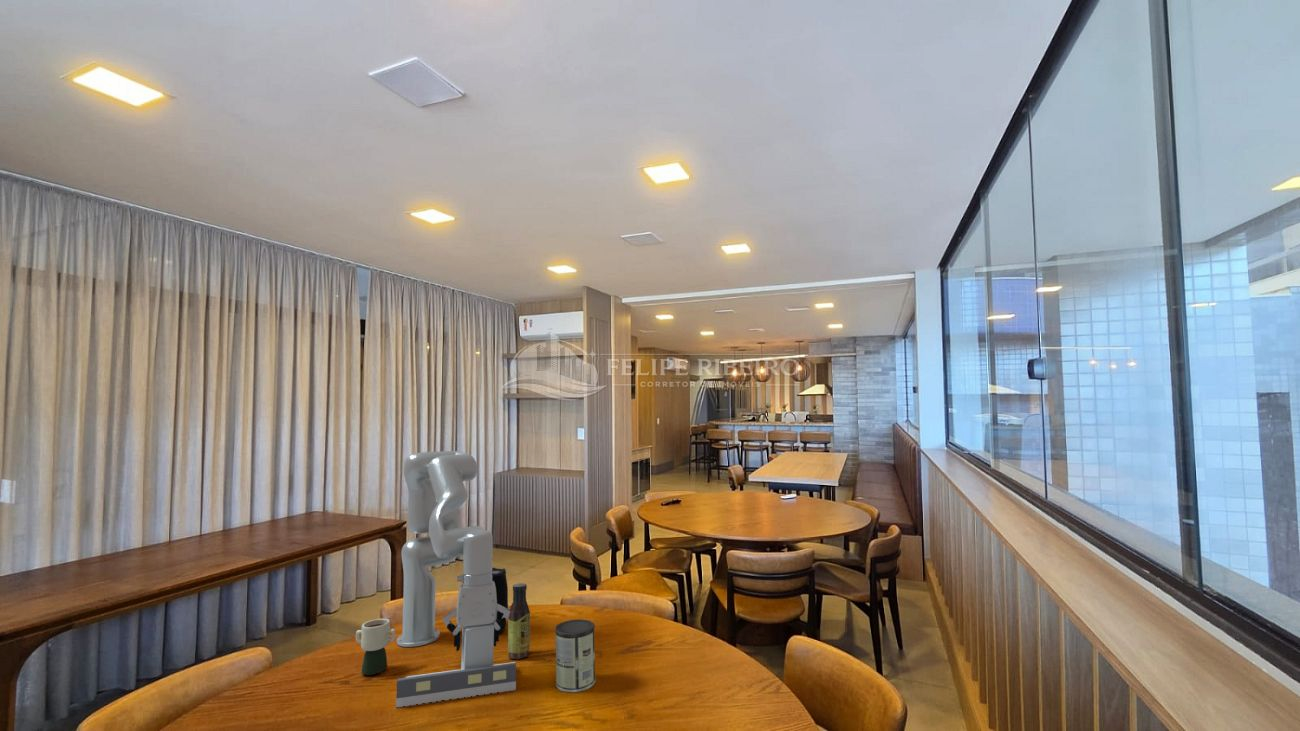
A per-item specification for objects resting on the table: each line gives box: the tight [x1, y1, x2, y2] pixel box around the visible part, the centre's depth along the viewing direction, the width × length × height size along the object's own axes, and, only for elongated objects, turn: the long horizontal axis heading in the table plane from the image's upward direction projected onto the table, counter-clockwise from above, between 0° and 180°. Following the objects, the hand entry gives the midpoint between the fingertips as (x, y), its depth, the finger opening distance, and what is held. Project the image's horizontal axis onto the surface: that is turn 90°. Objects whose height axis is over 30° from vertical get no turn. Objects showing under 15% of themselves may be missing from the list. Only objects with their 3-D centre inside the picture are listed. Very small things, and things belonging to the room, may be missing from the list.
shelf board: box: [395, 661, 517, 709], centre depth 135 cm, size 12×28×2 cm, turn 105°
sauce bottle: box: [507, 582, 531, 660], centre depth 155 cm, size 7×6×20 cm
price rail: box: [395, 662, 517, 699], centre depth 131 cm, size 1×28×4 cm, turn 105°
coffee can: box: [554, 618, 596, 693], centre depth 137 cm, size 10×10×14 cm
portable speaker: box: [492, 567, 509, 635], centre depth 174 cm, size 9×9×20 cm
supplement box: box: [460, 624, 495, 670], centre depth 138 cm, size 7×7×13 cm
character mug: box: [355, 618, 396, 676], centre depth 146 cm, size 11×7×13 cm, turn 91°
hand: (476, 646), depth 138 cm, fingers open, 8 cm apart
